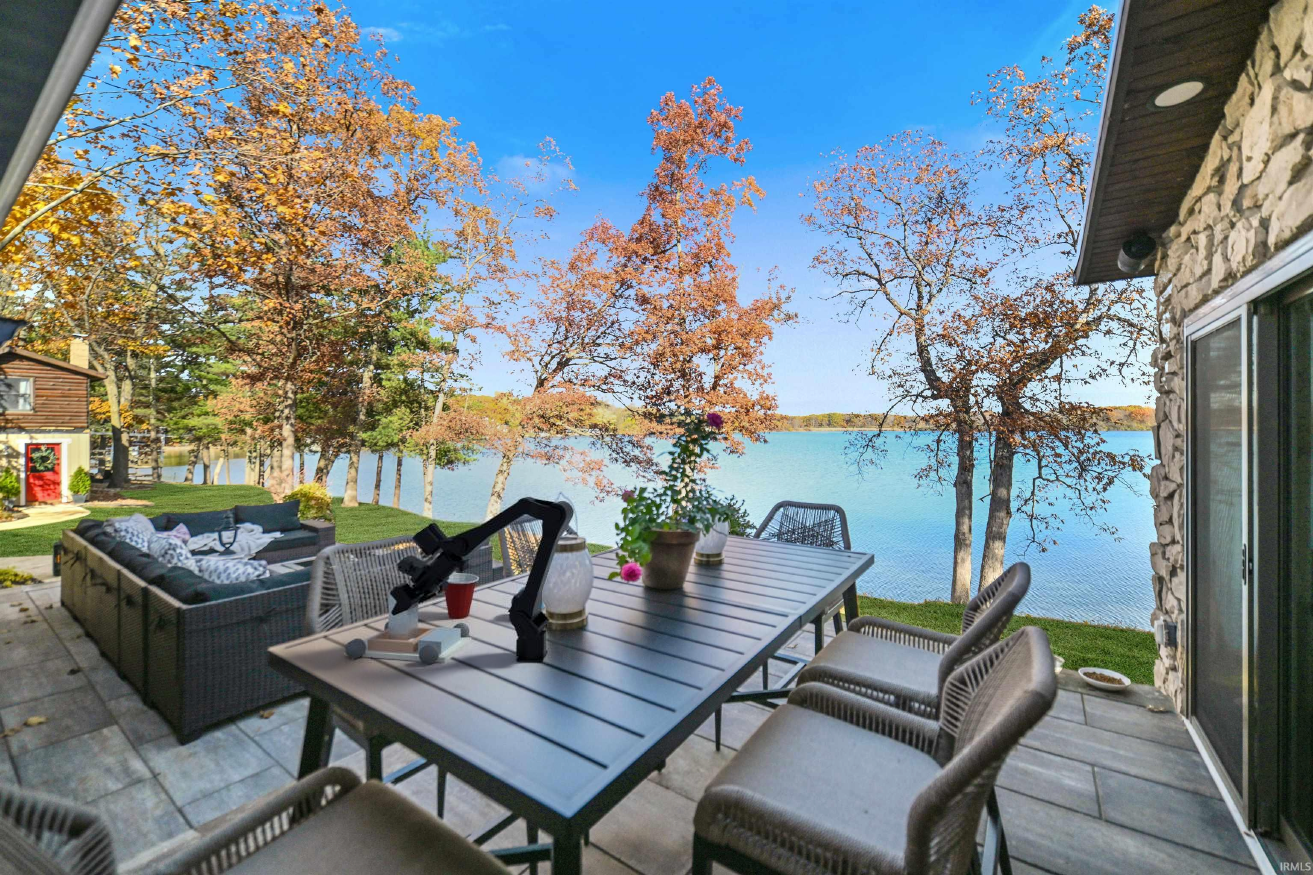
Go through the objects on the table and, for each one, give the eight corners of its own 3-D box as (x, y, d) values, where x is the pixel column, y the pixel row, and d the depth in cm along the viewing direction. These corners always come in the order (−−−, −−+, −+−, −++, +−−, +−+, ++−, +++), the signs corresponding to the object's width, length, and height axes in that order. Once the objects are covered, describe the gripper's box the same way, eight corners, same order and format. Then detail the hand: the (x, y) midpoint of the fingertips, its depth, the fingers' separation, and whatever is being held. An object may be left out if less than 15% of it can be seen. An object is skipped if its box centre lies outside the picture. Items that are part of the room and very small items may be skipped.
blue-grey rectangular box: (417, 634, 145) (418, 586, 145) (406, 641, 140) (407, 591, 140) (399, 633, 146) (400, 585, 146) (388, 639, 141) (389, 590, 141)
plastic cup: (471, 622, 164) (472, 581, 165) (434, 621, 165) (435, 580, 165) (483, 611, 175) (483, 572, 175) (448, 610, 175) (449, 571, 176)
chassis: (473, 640, 150) (474, 623, 150) (441, 665, 133) (441, 646, 133) (383, 634, 153) (383, 617, 153) (339, 657, 136) (340, 639, 136)
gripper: (438, 539, 152) (399, 578, 153) (398, 553, 134) (354, 597, 135) (465, 570, 151) (426, 609, 152) (428, 587, 133) (384, 632, 134)
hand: (398, 610), depth 143 cm, fingers closed on blue-grey rectangular box, 5 cm apart
